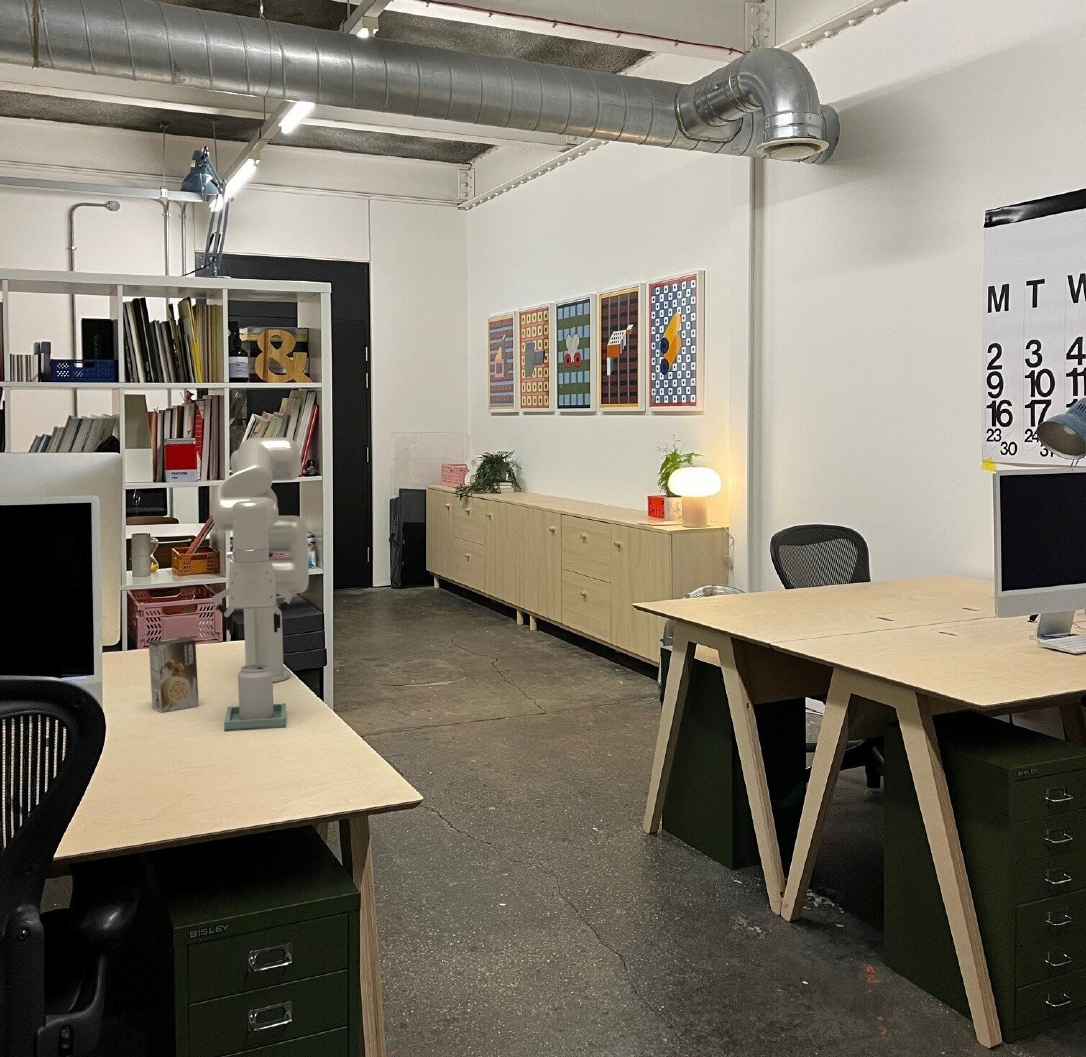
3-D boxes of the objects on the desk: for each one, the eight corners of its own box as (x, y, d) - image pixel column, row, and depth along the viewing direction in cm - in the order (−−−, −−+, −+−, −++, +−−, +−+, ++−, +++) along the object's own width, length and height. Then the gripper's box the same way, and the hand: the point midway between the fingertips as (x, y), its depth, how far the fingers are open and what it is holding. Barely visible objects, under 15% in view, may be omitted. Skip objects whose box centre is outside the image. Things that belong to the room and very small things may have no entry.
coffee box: (188, 700, 265) (186, 635, 264) (199, 706, 260) (197, 639, 259) (150, 707, 260) (148, 640, 258) (161, 713, 255) (158, 645, 253)
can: (280, 717, 249) (279, 665, 248) (255, 725, 243) (254, 671, 241) (257, 712, 253) (255, 661, 252) (232, 720, 247) (230, 667, 245)
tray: (227, 715, 253) (227, 706, 252) (285, 711, 255) (285, 703, 255) (224, 731, 240) (224, 722, 240) (285, 727, 243) (285, 718, 243)
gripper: (209, 560, 238) (212, 637, 240) (291, 557, 242) (293, 634, 244) (211, 555, 246) (214, 630, 248) (291, 553, 249) (293, 627, 251)
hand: (253, 632), depth 246 cm, fingers open, 9 cm apart
